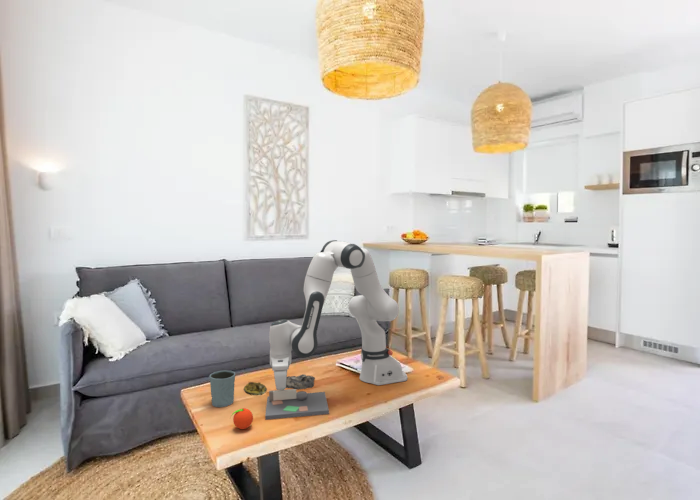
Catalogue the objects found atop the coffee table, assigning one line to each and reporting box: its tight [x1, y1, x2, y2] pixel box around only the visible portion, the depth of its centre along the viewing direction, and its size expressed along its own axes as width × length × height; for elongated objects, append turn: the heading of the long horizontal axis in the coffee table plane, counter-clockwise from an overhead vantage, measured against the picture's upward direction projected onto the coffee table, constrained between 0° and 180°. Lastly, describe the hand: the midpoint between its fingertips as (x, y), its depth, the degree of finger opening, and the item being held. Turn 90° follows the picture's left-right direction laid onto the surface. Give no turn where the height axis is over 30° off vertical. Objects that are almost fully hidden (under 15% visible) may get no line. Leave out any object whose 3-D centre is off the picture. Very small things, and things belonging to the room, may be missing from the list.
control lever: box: [268, 388, 308, 401], centre depth 167 cm, size 15×4×4 cm, turn 99°
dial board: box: [264, 391, 330, 421], centre depth 164 cm, size 24×18×2 cm
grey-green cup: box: [209, 369, 236, 408], centre depth 169 cm, size 10×10×12 cm
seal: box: [243, 381, 268, 396], centre depth 182 cm, size 9×5×15 cm
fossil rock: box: [285, 374, 316, 391], centre depth 188 cm, size 19×4×15 cm
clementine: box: [229, 407, 254, 430], centre depth 147 cm, size 8×7×7 cm
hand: (281, 392), depth 169 cm, fingers closed
